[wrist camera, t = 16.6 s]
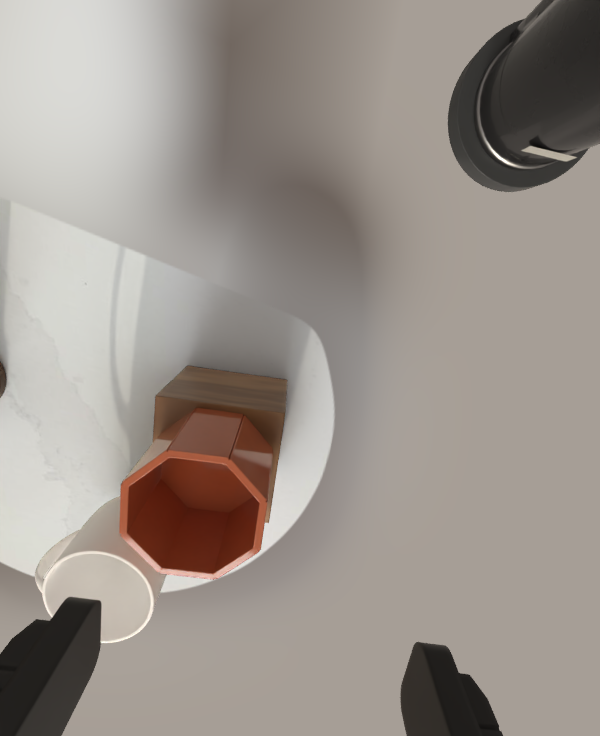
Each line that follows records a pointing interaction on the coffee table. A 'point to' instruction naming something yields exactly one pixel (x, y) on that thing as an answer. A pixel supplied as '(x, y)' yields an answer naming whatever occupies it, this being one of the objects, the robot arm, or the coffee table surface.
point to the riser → (227, 404)
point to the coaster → (2, 379)
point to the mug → (101, 575)
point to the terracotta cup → (199, 495)
